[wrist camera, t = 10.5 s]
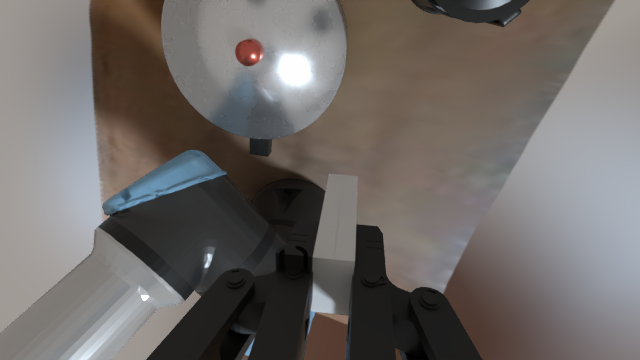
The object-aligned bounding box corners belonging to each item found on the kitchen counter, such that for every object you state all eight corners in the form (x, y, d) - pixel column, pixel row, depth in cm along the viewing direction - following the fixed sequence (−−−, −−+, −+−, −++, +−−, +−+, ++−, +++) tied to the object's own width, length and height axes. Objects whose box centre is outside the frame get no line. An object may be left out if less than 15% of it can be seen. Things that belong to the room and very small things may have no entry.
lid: (339, 141, 40) (336, 159, 36) (182, 127, 42) (161, 142, 37) (361, -139, 28) (360, -162, 24) (140, -143, 30) (102, -165, 26)
